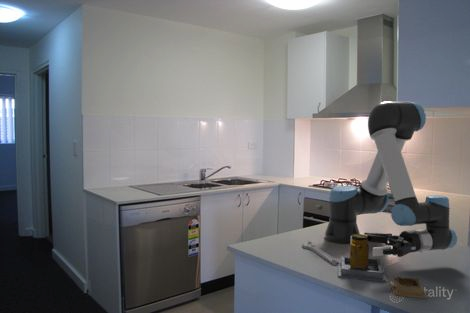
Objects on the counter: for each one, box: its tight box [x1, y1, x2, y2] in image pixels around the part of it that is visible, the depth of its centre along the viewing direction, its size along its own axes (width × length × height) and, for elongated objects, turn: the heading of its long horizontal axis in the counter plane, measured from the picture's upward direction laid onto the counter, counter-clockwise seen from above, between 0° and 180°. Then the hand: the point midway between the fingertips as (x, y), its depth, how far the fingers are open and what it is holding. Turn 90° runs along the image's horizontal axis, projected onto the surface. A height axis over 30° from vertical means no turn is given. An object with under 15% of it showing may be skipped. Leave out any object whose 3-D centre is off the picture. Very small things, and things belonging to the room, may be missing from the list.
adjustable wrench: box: [302, 240, 339, 266], centre depth 148 cm, size 25×6×2 cm, turn 10°
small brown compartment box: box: [389, 276, 428, 300], centre depth 115 cm, size 9×9×3 cm
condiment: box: [348, 233, 375, 271], centre depth 129 cm, size 7×8×12 cm
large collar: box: [337, 255, 388, 283], centre depth 130 cm, size 15×15×3 cm
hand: (361, 245), depth 129 cm, fingers open, 13 cm apart
